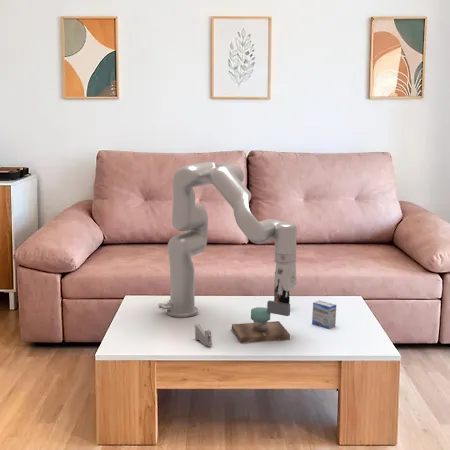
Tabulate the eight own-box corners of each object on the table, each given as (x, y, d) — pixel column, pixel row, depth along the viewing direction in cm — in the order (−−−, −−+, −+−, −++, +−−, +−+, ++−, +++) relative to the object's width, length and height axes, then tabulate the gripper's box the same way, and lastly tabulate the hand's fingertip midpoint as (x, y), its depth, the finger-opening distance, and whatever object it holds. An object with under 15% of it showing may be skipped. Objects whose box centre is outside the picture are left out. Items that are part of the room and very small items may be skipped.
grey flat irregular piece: (198, 338, 245) (213, 347, 236) (195, 339, 244) (209, 348, 236) (198, 323, 244) (213, 331, 235) (195, 324, 243) (209, 332, 235)
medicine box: (311, 324, 260) (312, 302, 258) (318, 321, 263) (319, 299, 262) (329, 329, 255) (329, 307, 253) (335, 326, 258) (336, 304, 256)
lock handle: (247, 319, 246) (247, 300, 245) (256, 313, 252) (256, 295, 251) (284, 326, 240) (285, 307, 238) (292, 320, 246) (293, 301, 244)
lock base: (240, 343, 241) (240, 326, 239) (231, 329, 254) (231, 313, 253) (289, 339, 244) (290, 323, 243) (278, 326, 258) (279, 310, 256)
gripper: (288, 263, 234) (286, 315, 237) (302, 253, 247) (301, 303, 251) (267, 261, 237) (266, 312, 241) (282, 251, 250) (281, 300, 254)
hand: (284, 307), depth 246 cm, fingers closed
